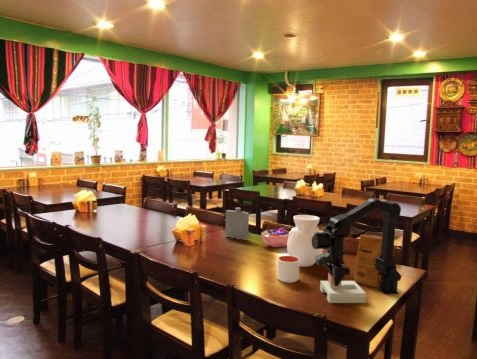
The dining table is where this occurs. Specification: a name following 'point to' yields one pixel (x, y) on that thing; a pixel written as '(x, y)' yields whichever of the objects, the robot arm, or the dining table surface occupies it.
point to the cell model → (276, 237)
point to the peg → (332, 280)
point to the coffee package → (368, 261)
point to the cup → (288, 269)
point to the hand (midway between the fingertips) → (334, 283)
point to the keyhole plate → (343, 292)
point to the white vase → (303, 239)
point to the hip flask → (237, 224)
